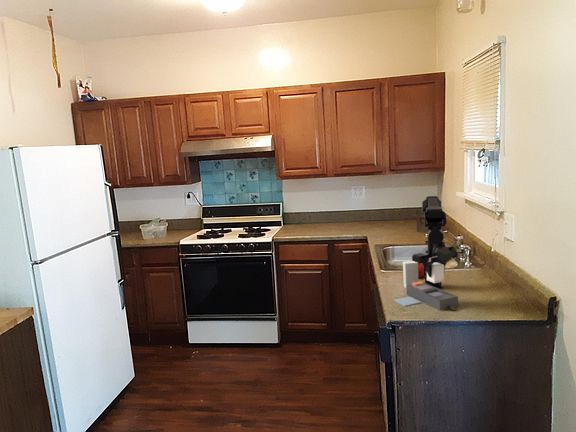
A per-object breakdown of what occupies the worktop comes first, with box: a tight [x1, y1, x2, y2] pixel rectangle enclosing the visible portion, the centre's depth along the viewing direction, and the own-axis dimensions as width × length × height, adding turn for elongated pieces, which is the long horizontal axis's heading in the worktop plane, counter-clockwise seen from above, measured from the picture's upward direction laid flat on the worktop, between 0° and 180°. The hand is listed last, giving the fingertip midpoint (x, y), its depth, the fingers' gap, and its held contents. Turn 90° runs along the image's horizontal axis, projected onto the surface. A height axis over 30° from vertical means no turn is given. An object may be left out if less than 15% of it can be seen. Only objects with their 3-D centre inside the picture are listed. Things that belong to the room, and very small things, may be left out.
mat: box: [393, 296, 422, 307], centre depth 187 cm, size 8×8×1 cm
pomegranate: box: [417, 262, 425, 279], centre depth 221 cm, size 10×10×9 cm
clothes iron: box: [411, 213, 428, 234], centre depth 327 cm, size 8×16×13 cm, turn 65°
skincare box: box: [402, 260, 419, 290], centre depth 205 cm, size 6×4×12 cm
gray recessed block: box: [406, 280, 459, 312], centre depth 185 cm, size 9×25×5 cm, turn 20°
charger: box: [427, 262, 445, 283], centre depth 182 cm, size 5×5×7 cm
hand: (435, 275), depth 183 cm, fingers closed on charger, 5 cm apart
